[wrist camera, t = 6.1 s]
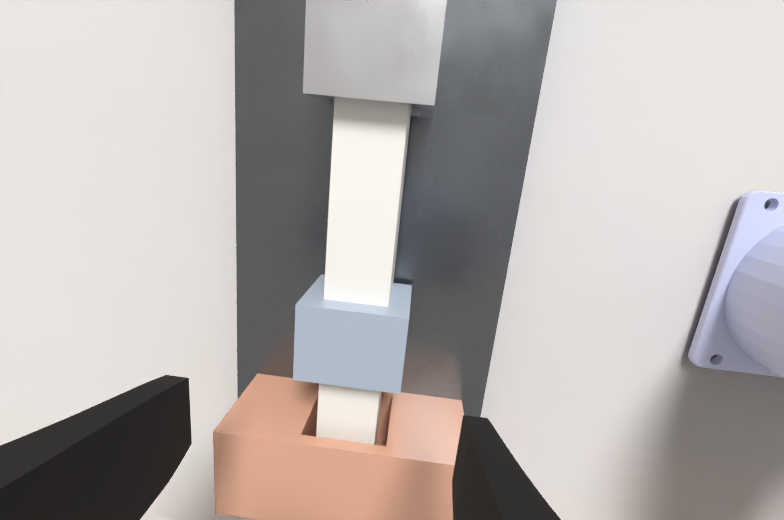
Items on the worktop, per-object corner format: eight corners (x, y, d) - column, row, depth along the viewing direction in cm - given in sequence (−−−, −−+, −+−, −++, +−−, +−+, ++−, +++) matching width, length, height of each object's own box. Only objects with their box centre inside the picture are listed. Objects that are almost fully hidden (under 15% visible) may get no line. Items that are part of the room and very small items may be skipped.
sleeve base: (584, -190, 14) (673, -381, 9) (465, 472, 21) (478, 567, 16) (245, -209, 14) (153, -398, 9) (246, 441, 21) (195, 524, 17)
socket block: (461, 400, 19) (472, 467, 15) (450, 468, 20) (457, 549, 16) (257, 373, 19) (212, 431, 15) (256, 441, 20) (215, 513, 16)
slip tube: (436, 71, 15) (441, 46, 11) (394, 430, 19) (388, 492, 15) (332, 62, 15) (304, 34, 11) (313, 420, 19) (289, 478, 16)
